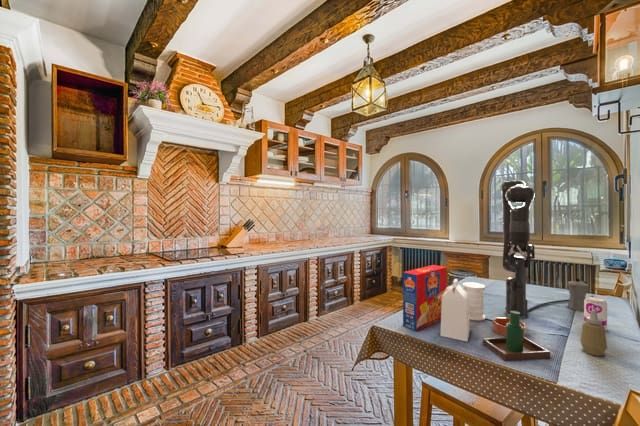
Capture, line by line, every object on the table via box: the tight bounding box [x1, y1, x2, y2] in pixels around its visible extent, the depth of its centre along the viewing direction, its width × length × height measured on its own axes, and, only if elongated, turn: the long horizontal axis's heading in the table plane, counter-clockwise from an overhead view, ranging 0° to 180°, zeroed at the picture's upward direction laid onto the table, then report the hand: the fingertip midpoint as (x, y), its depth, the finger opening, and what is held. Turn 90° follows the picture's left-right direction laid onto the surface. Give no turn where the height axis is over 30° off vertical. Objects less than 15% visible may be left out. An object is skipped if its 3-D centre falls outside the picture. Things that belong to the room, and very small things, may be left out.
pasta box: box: [402, 264, 448, 332], centre depth 152 cm, size 28×8×28 cm, turn 127°
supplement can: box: [583, 296, 608, 331], centre depth 142 cm, size 8×8×15 cm
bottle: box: [505, 311, 523, 353], centre depth 121 cm, size 6×6×16 cm
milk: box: [439, 278, 471, 342], centre depth 138 cm, size 12×12×26 cm
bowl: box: [492, 316, 527, 338], centre depth 138 cm, size 13×13×5 cm
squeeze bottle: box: [580, 310, 608, 357], centre depth 119 cm, size 8×8×18 cm
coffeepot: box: [567, 278, 589, 312], centre depth 170 cm, size 15×9×18 cm, turn 113°
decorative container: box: [462, 281, 486, 321], centre depth 157 cm, size 12×12×18 cm
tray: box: [482, 336, 551, 361], centre depth 121 cm, size 20×14×3 cm
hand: (519, 265), depth 131 cm, fingers open, 8 cm apart
